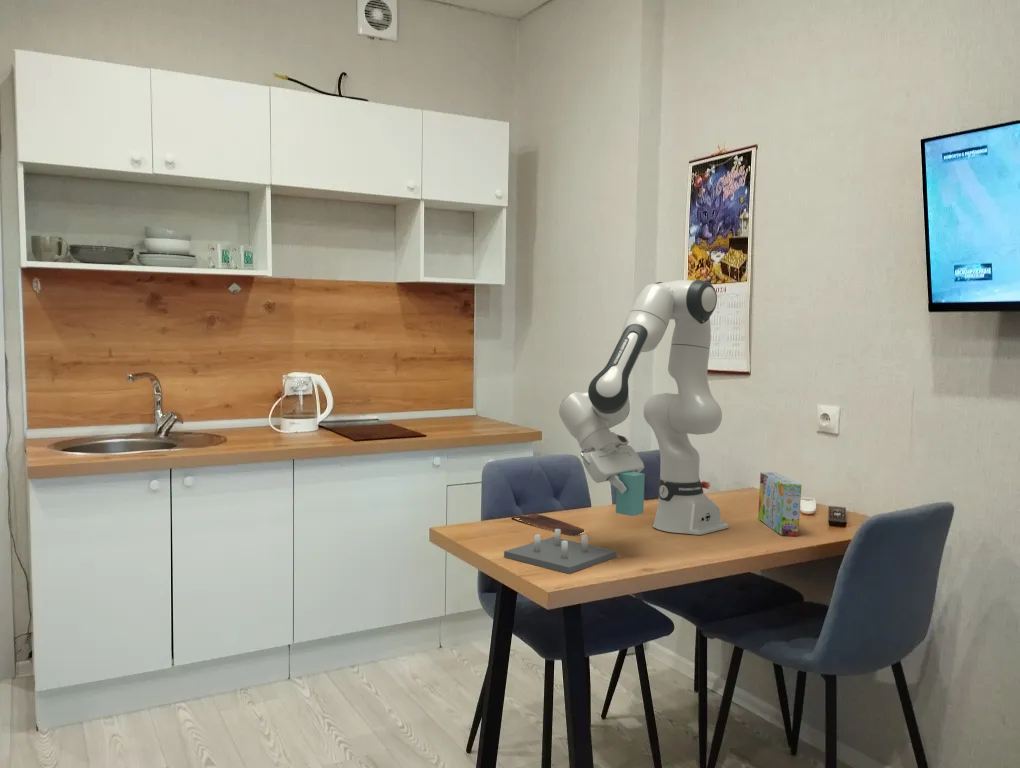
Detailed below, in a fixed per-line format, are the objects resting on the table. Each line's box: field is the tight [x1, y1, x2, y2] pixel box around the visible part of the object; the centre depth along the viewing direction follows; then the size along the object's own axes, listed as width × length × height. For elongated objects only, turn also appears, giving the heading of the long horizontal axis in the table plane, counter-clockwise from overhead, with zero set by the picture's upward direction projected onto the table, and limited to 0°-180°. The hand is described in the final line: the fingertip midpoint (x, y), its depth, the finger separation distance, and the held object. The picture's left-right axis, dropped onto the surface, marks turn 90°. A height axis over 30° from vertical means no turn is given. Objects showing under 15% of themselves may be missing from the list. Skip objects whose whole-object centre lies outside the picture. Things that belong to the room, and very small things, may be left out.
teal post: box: [615, 472, 646, 517], centre depth 198 cm, size 5×5×10 cm
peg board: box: [503, 529, 618, 575], centre depth 196 cm, size 20×20×6 cm
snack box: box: [757, 471, 802, 537], centre depth 232 cm, size 21×6×15 cm, turn 0°
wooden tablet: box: [511, 513, 585, 537], centre depth 229 cm, size 26×2×10 cm
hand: (632, 490), depth 197 cm, fingers closed on teal post, 5 cm apart
